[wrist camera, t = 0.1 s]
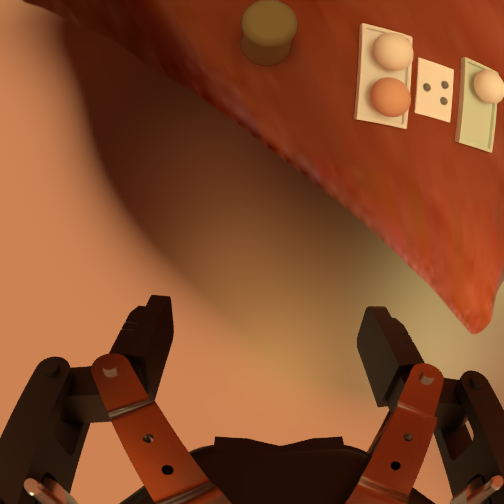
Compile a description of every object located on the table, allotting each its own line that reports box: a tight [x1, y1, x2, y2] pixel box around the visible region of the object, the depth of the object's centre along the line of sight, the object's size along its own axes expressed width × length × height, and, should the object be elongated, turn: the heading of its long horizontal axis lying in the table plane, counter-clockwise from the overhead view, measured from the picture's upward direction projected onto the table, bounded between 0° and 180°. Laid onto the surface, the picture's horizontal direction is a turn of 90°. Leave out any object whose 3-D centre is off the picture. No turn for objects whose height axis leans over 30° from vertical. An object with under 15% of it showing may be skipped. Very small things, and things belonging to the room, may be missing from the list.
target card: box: [414, 57, 454, 122], centre depth 33 cm, size 8×6×1 cm
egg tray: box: [354, 23, 412, 129], centre depth 32 cm, size 13×7×1 cm, turn 177°
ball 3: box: [474, 70, 504, 104], centre depth 29 cm, size 5×5×5 cm
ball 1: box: [373, 33, 413, 71], centre depth 29 cm, size 5×5×5 cm
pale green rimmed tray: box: [455, 57, 498, 153], centre depth 33 cm, size 13×7×1 cm, turn 177°
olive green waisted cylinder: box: [241, 0, 298, 66], centre depth 27 cm, size 6×6×11 cm
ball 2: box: [370, 77, 411, 117], centre depth 31 cm, size 5×5×5 cm
